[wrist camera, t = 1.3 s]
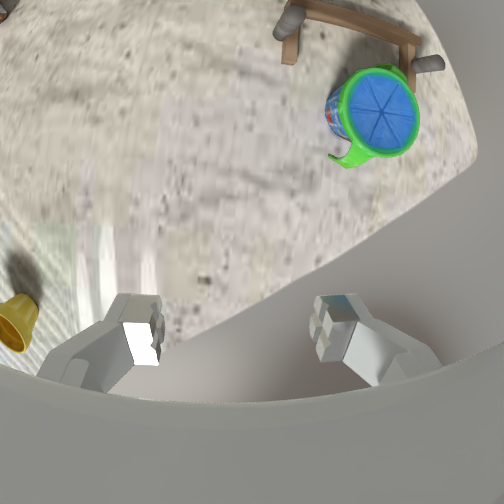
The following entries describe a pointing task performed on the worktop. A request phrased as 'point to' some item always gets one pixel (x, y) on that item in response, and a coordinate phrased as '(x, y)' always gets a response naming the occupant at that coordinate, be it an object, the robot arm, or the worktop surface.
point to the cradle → (307, 7)
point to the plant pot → (17, 322)
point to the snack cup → (374, 114)
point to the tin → (2, 13)
